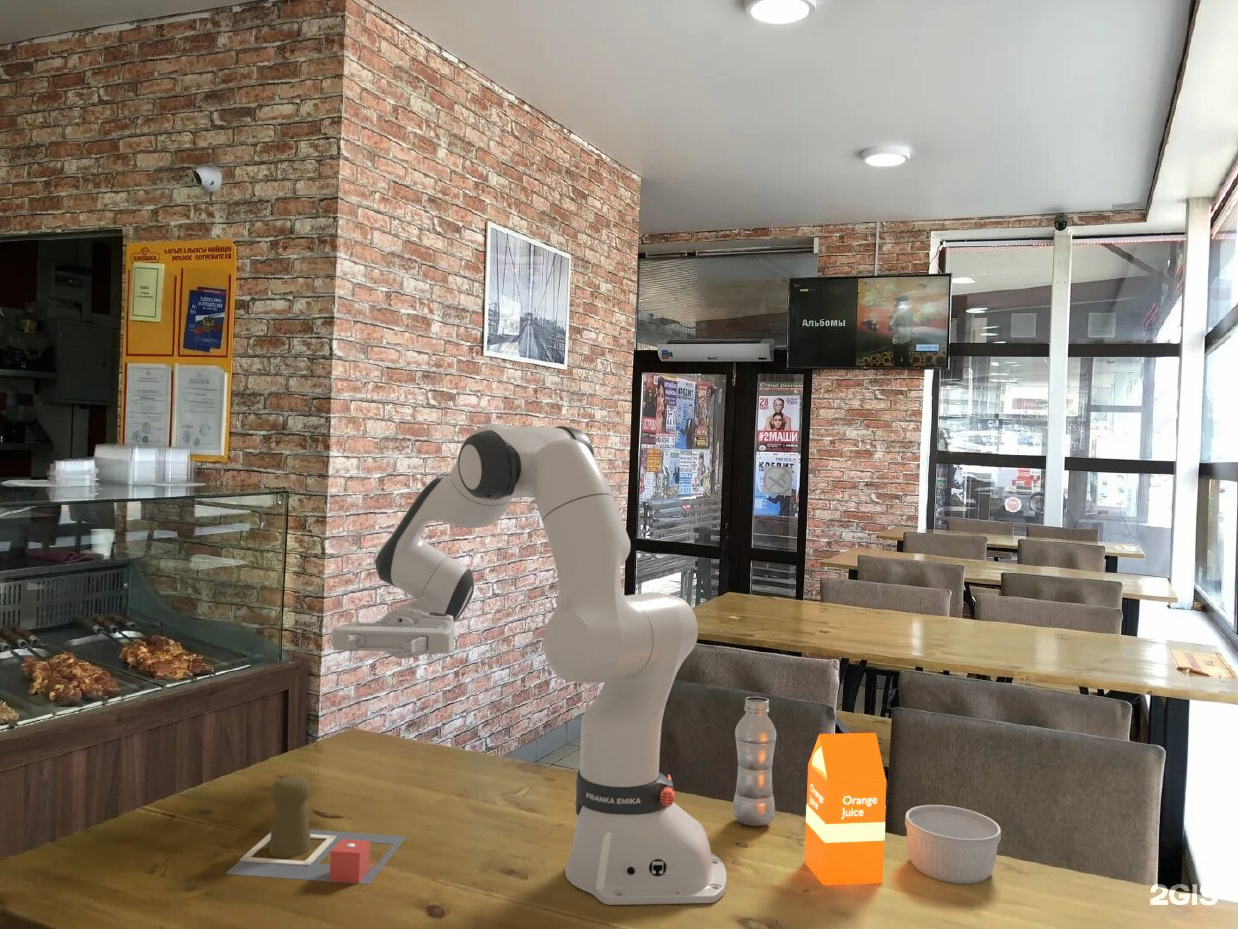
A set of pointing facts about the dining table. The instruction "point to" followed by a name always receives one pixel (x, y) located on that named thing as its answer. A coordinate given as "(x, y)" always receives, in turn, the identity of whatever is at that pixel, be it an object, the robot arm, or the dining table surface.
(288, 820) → the cork
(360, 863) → the red cube
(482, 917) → the dining table surface
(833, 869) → the orange juice
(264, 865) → the grey and white frame
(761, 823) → the plastic bottle
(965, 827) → the ramekin
